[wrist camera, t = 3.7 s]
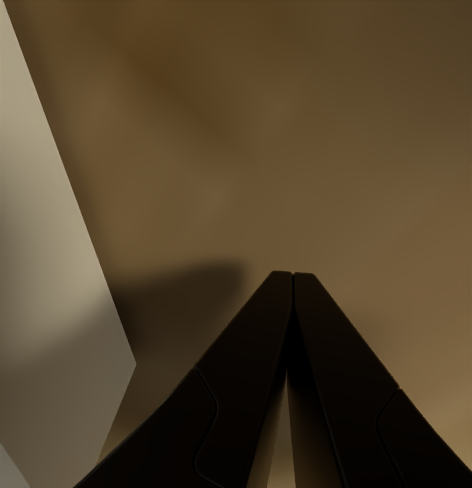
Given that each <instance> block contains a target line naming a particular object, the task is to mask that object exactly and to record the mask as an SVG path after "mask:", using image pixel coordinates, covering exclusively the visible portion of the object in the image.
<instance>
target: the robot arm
mask: <svg viewBox="0 0 472 488" xmlns="http://www.w3.org/2000/svg"><path fill="white" fill-rule="evenodd" d="M286 372H287V392H288V403H289V415H290V426H291V438H292V449H293V461H294V472H295V484H296V488H472V471H471V470H470V469H469V468H468V467H467V466H466V465H465V464H464V463H463V461H462V460H461V459H460V458H459V457H458V456H457V455H456V454H455V453H454V451H453V450H452V449H451V448H450V447H449V446H448V445H447V444H446V443H445V441H444V440H443V439H442V438H441V437H440V436H439V435H438V434H437V432H436V431H435V430H434V429H433V428H432V426H431V425H430V424H429V423H428V422H427V420H426V419H425V418H424V417H423V415H422V414H421V413H420V412H419V410H418V409H417V408H416V407H415V405H414V404H413V403H412V402H411V400H410V399H409V398H408V396H407V395H406V394H405V392H404V391H403V390H402V389H399V388H400V387H399V385H398V383H397V382H396V381H395V379H394V378H393V377H392V376H391V374H390V373H389V372H388V370H387V369H386V368H385V366H384V365H383V364H382V362H381V361H380V360H379V359H378V357H377V356H376V355H375V353H374V352H373V351H372V349H371V348H370V347H369V345H368V344H367V343H366V341H365V340H364V339H363V338H362V336H361V335H360V334H359V332H358V331H357V330H356V328H355V327H354V326H353V324H352V323H351V322H350V320H349V319H348V318H347V317H346V315H345V314H344V313H343V311H342V310H341V309H340V307H339V306H338V305H337V303H336V302H335V301H334V300H333V298H332V297H331V296H330V294H329V293H328V292H327V290H326V289H325V288H324V286H323V285H322V284H321V282H320V281H319V280H318V279H317V277H316V276H315V275H314V274H312V273H300V272H295V273H294V274H292V273H291V272H287V271H272V272H271V273H270V274H269V275H268V277H267V278H266V279H265V280H264V281H263V283H262V284H261V285H260V286H259V288H258V289H257V290H256V291H255V292H254V294H253V295H252V296H251V297H250V298H249V300H248V301H247V302H246V303H245V305H244V306H243V307H242V308H241V309H240V311H239V312H238V313H237V314H236V315H235V317H234V318H233V319H232V320H231V321H230V323H229V324H228V325H227V326H226V328H225V329H224V330H223V331H222V332H221V334H220V335H219V336H218V337H217V338H216V340H215V341H214V342H213V343H212V345H211V346H210V347H209V348H208V349H207V351H206V352H205V353H204V354H203V355H202V357H201V358H200V359H199V360H198V361H197V363H196V364H195V365H194V368H192V369H191V370H190V371H189V372H188V373H187V375H186V376H185V377H184V378H183V379H182V381H181V382H180V383H179V384H178V385H177V386H176V388H175V389H174V390H173V391H172V392H171V393H170V394H169V395H168V397H167V398H166V399H165V400H164V401H163V402H162V403H161V404H160V405H159V406H158V407H157V408H156V409H155V410H154V411H153V412H152V413H151V414H150V415H149V416H148V417H147V418H146V419H145V420H144V421H143V422H142V423H141V424H140V425H139V426H138V427H137V428H136V429H135V430H134V431H133V432H132V433H130V434H129V435H128V436H127V437H126V438H125V439H124V440H123V441H122V442H121V443H120V444H119V445H118V446H117V447H116V448H114V449H113V450H112V451H111V452H110V453H109V454H108V455H107V456H106V457H105V458H104V459H103V460H102V461H101V462H100V463H99V464H97V465H96V466H95V467H94V468H93V469H92V470H91V471H90V472H89V473H88V474H87V475H86V476H85V477H84V478H83V479H82V480H80V481H79V482H78V483H77V484H76V485H75V486H74V487H73V488H267V483H268V477H269V472H270V466H271V461H272V455H273V449H274V444H275V438H276V433H277V427H278V422H279V416H280V411H281V405H282V399H283V394H284V388H285V381H286Z"/></svg>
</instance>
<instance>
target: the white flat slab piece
mask: <svg viewBox="0 0 472 488" xmlns="http://www.w3.org/2000/svg"><path fill="white" fill-rule="evenodd" d="M135 367H136V362H135V359H134V356H133V354H132V351H131V348H130V345H129V343H128V340H127V337H126V335H125V332H124V329H123V326H122V324H121V321H120V318H119V315H118V313H117V310H116V307H115V305H114V302H113V299H112V296H111V294H110V291H109V288H108V285H107V283H106V280H105V277H104V275H103V272H102V269H101V266H100V264H99V261H98V258H97V255H96V253H95V250H94V247H93V245H92V242H91V239H90V236H89V234H88V231H87V228H86V226H85V223H84V220H83V217H82V215H81V212H80V209H79V206H78V204H77V201H76V198H75V196H74V193H73V190H72V187H71V185H70V182H69V179H68V176H67V174H66V171H65V168H64V166H63V163H62V160H61V157H60V155H59V152H58V149H57V146H56V144H55V141H54V138H53V136H52V133H51V130H50V127H49V125H48V122H47V119H46V116H45V114H44V111H43V108H42V106H41V103H40V100H39V97H38V95H37V92H36V89H35V86H34V84H33V81H32V78H31V76H30V73H29V70H28V67H27V65H26V62H25V59H24V57H23V54H22V51H21V48H20V46H19V43H18V40H17V37H16V35H15V32H14V29H13V27H12V24H11V21H10V18H9V16H8V13H7V10H6V7H5V5H4V2H3V0H0V488H73V487H74V486H75V485H76V484H77V483H78V482H79V481H80V480H82V479H83V478H84V477H85V476H86V475H87V474H88V473H89V472H90V471H91V470H92V469H93V468H94V467H95V465H96V463H97V460H98V458H99V455H100V453H101V450H102V448H103V445H104V443H105V441H106V438H107V436H108V433H109V431H110V428H111V426H112V423H113V421H114V419H115V416H116V414H117V411H118V409H119V406H120V404H121V401H122V399H123V397H124V394H125V392H126V389H127V387H128V384H129V382H130V379H131V377H132V375H133V372H134V370H135Z"/></svg>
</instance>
